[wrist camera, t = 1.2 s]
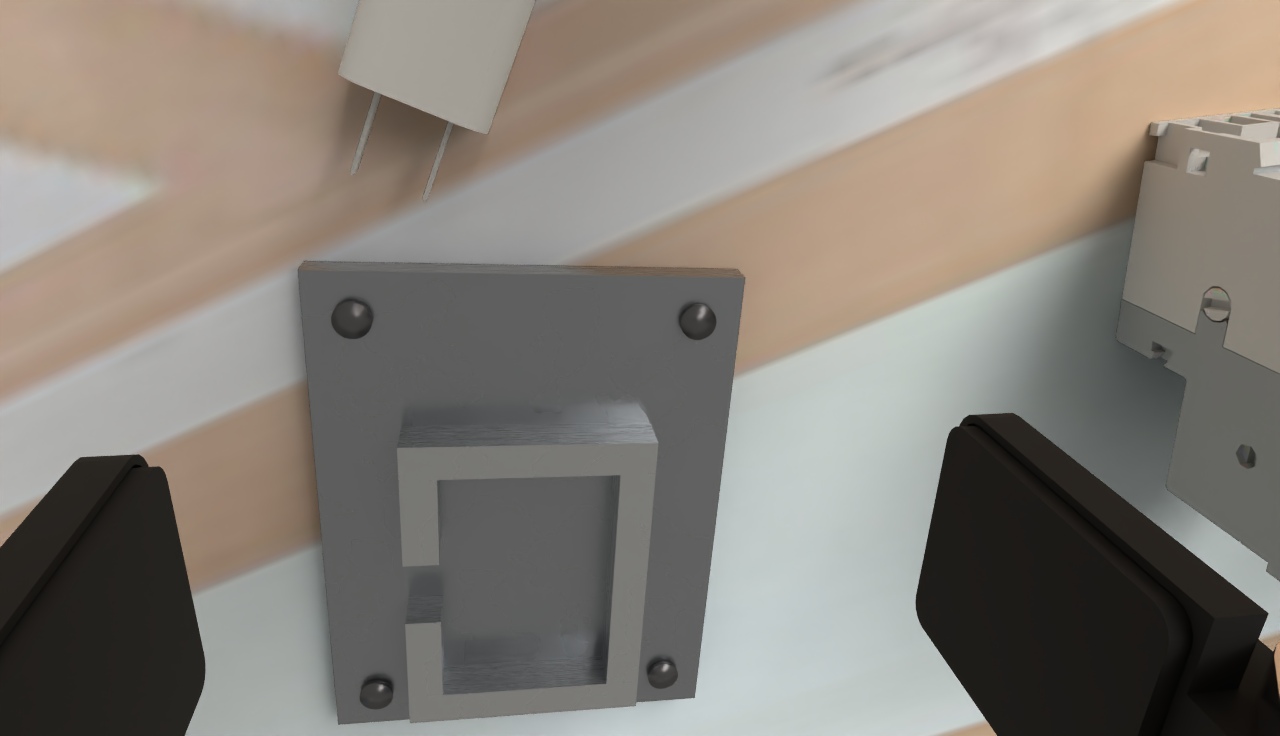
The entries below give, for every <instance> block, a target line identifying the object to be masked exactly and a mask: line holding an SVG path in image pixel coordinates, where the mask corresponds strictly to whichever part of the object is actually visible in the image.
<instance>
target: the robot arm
mask: <svg viewBox="0 0 1280 736" xmlns="http://www.w3.org/2000/svg"><path fill="white" fill-rule="evenodd" d="M916 611H917V616H918V619H919V622H920V624H921V626H922V628H923V629H924V631H925V632H926V633H927V635H928V636H929V638H930V639H931V641H932V642H933V644H934V645H935V646H936V648H937V649H938V651H939V652H940V654H941V655H942V657H943V658H944V659H945V661H946V662H947V664H948V665H949V667H950V668H951V670H952V671H953V672H954V674H955V675H956V677H957V678H958V680H959V681H960V683H961V684H962V685H963V687H964V688H965V690H966V691H967V693H968V694H969V695H970V697H971V698H972V700H973V701H974V703H975V704H976V706H977V707H978V708H979V710H980V711H981V713H982V714H983V716H984V717H985V719H986V720H987V721H988V723H989V724H990V726H991V727H992V729H993V730H994V732H995V733H996V734H997V736H1280V642H1279V643H1278V644H1277V645H1276V647H1275V650H1274V652H1273V651H1272V650H1270V649H1269V648H1268V647H1267V646H1266V645H1264V644H1263V643H1262V642H1261V641H1260V640H1258V638H1259V636H1260V633H1261V631H1262V628H1263V626H1264V623H1265V621H1266V618H1267V616H1268V614H1269V613H1267V612H1266V611H1265V610H1264V609H1262V608H1261V607H1260V606H1258V605H1257V604H1256V603H1255V602H1253V601H1252V600H1251V599H1250V598H1248V597H1247V596H1246V595H1245V594H1243V593H1242V592H1241V591H1240V590H1238V589H1237V588H1236V587H1234V586H1233V585H1232V584H1231V583H1229V582H1228V581H1227V580H1226V579H1224V578H1223V577H1222V576H1221V575H1219V574H1218V573H1217V572H1215V571H1214V570H1213V569H1212V568H1210V567H1209V566H1208V565H1207V564H1205V563H1204V562H1203V561H1202V560H1200V559H1199V558H1198V557H1196V556H1195V555H1194V554H1193V553H1191V552H1190V551H1189V550H1188V549H1186V548H1185V547H1184V546H1183V545H1181V544H1180V543H1179V542H1177V541H1176V540H1175V539H1174V538H1172V537H1171V536H1170V535H1169V534H1167V533H1166V532H1165V531H1164V530H1162V529H1161V528H1160V527H1159V526H1157V525H1156V524H1155V523H1153V522H1152V521H1151V520H1150V519H1148V518H1147V517H1146V516H1145V515H1143V514H1142V513H1141V512H1140V511H1138V510H1137V509H1136V508H1134V507H1133V506H1132V505H1131V504H1129V503H1128V502H1127V501H1126V500H1124V499H1123V498H1122V497H1121V496H1119V495H1118V494H1117V493H1115V492H1114V491H1113V490H1112V489H1110V488H1109V487H1108V486H1107V485H1105V484H1104V483H1103V482H1102V481H1100V480H1099V479H1098V478H1096V477H1095V476H1094V475H1093V474H1091V473H1090V472H1089V471H1088V470H1086V469H1085V468H1084V467H1083V466H1081V465H1080V464H1079V463H1078V462H1076V461H1075V460H1074V459H1072V458H1071V457H1070V456H1069V455H1067V454H1066V453H1065V452H1064V451H1062V450H1061V449H1060V448H1059V447H1057V446H1056V445H1055V444H1053V443H1052V442H1051V441H1050V440H1048V439H1047V438H1046V437H1045V436H1043V435H1042V434H1041V433H1040V432H1038V431H1037V430H1036V429H1034V428H1033V427H1032V426H1031V425H1029V424H1028V423H1027V422H1026V421H1024V420H1023V419H1022V418H1021V417H1019V416H1017V415H1015V414H1014V413H1003V414H982V415H969V416H967V417H965V418H964V419H963V421H962V422H961V424H960V426H959V427H955V428H953V429H952V430H951V432H950V433H949V436H948V439H947V443H946V448H945V453H944V458H943V463H942V468H941V473H940V478H939V483H938V488H937V494H936V499H935V504H934V509H933V514H932V519H931V524H930V529H929V534H928V539H927V544H926V549H925V554H924V559H923V564H922V569H921V574H920V579H919V584H918V589H917V594H916ZM204 680H205V657H204V652H203V647H202V642H201V638H200V633H199V628H198V623H197V619H196V614H195V609H194V604H193V600H192V595H191V590H190V585H189V581H188V576H187V571H186V567H185V562H184V557H183V552H182V548H181V543H180V538H179V533H178V529H177V524H176V519H175V514H174V510H173V505H172V500H171V495H170V491H169V486H168V481H167V478H166V474H165V472H164V471H163V469H162V468H161V467H148V464H147V462H146V461H145V459H144V458H143V457H142V456H140V455H119V456H97V457H80V458H79V459H78V460H76V461H75V462H74V463H73V464H72V465H71V467H70V468H69V469H68V470H67V471H66V472H65V474H64V475H63V476H62V477H61V478H60V479H59V480H58V482H57V483H56V484H55V485H54V486H53V487H52V489H51V490H50V491H49V492H48V493H47V494H46V495H45V497H44V498H43V499H42V500H41V501H40V502H39V504H38V505H37V506H36V507H35V508H34V509H33V511H32V512H31V513H30V514H29V515H28V516H27V517H26V519H25V520H24V521H23V522H22V523H21V524H20V526H19V527H18V528H17V529H16V530H15V531H14V532H13V534H12V535H11V536H10V537H9V538H8V539H7V541H6V542H5V543H4V544H3V545H2V546H1V547H0V736H185V733H186V731H187V728H188V726H189V723H190V721H191V718H192V716H193V713H194V711H195V708H196V706H197V703H198V701H199V698H200V696H201V693H202V690H203V686H204Z"/></svg>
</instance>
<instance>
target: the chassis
mask: <svg viewBox="0 0 1280 736" xmlns="http://www.w3.org/2000/svg"><path fill="white" fill-rule="evenodd" d="M298 279H299V290H300V301H301V312H302V324H303V335H304V346H305V357H306V368H307V380H308V391H309V402H310V413H311V424H312V436H313V447H314V458H315V469H316V480H317V492H318V503H319V514H320V525H321V536H322V548H323V559H324V570H325V581H326V593H327V604H328V615H329V626H330V637H331V649H332V660H333V671H334V682H335V693H336V705H337V716H338V725H339V724H352V723H365V722H379V721H392V720H405V719H410V723H417V722H430V721H444V720H457V719H470V718H483V717H496V716H510V715H523V714H536V713H549V712H562V711H576V710H589V709H602V708H615V707H628V706H636V702H645V701H659V700H672V699H685V698H695V691H696V682H697V674H698V666H699V657H700V649H701V641H702V633H703V624H704V616H705V608H706V599H707V591H708V583H709V574H710V566H711V558H712V550H713V541H714V533H715V525H716V516H717V508H718V500H719V491H720V483H721V475H722V466H723V458H724V450H725V442H726V433H727V425H728V417H729V408H730V400H731V392H732V383H733V375H734V367H735V359H736V350H737V342H738V334H739V325H740V317H741V309H742V300H743V292H744V284H745V277H744V276H743V275H742V274H741V273H740V272H739V270H738V269H714V268H659V267H604V266H549V265H494V264H439V263H384V262H329V261H304V262H303V263H302V265H301V266H300V268H299V269H298Z"/></svg>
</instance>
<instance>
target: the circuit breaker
mask: <svg viewBox="0 0 1280 736" xmlns="http://www.w3.org/2000/svg"><path fill="white" fill-rule="evenodd" d="M1149 135H1153V136H1159V137H1158V143H1157V149H1156V155H1155V160H1149V161H1145V162H1144V169H1143V175H1142V181H1141V187H1140V193H1139V199H1138V205H1137V211H1136V217H1135V223H1134V229H1133V235H1132V241H1131V247H1130V253H1129V259H1128V265H1127V271H1126V277H1125V283H1124V289H1123V295H1122V302H1121V308H1120V314H1119V320H1118V326H1117V333H1116V339H1117V341H1118V342H1120V343H1122V344H1124V345H1126V346H1128V347H1129V348H1131V349H1133V350H1135V351H1137V352H1139V353H1140V354H1142V355H1144V356H1146V357H1148V358H1150V359H1153V358H1160V357H1161V358H1163V359H1165V360H1166V361H1167V363H1166V364H1165V365H1164V367H1166V368H1168V369H1170V370H1172V371H1173V372H1175V373H1177V374H1179V375H1181V376H1183V377H1184V378H1185V379H1186V381H1187V382H1186V387H1185V392H1184V397H1183V402H1182V407H1181V412H1180V417H1179V422H1178V427H1177V432H1176V437H1175V442H1174V447H1173V452H1172V457H1171V462H1170V467H1169V471H1168V476H1167V481H1166V488H1167V490H1169V491H1170V492H1171V493H1173V494H1174V495H1175V496H1177V497H1178V498H1180V499H1181V500H1182V501H1184V502H1185V503H1186V504H1188V505H1189V506H1191V507H1192V508H1193V509H1195V510H1196V511H1198V512H1199V513H1200V514H1202V515H1203V516H1204V517H1206V518H1207V519H1209V520H1210V521H1211V522H1213V523H1214V524H1216V525H1217V526H1218V527H1220V528H1221V529H1222V530H1224V531H1225V532H1227V533H1228V534H1229V535H1231V536H1232V537H1233V538H1235V539H1236V540H1238V541H1241V543H1242V544H1243V545H1245V546H1246V547H1247V548H1249V549H1250V550H1251V551H1253V552H1254V553H1256V554H1257V555H1258V556H1260V557H1261V558H1263V559H1264V560H1265V561H1267V562H1268V565H1267V569H1266V571H1267V572H1268V573H1269V574H1271V575H1272V576H1273V577H1275V578H1276V579H1277V580H1279V581H1280V108H1276V109H1266V110H1257V111H1248V112H1239V113H1230V114H1221V115H1212V116H1203V117H1194V118H1185V119H1176V120H1167V121H1158V122H1151V126H1150V132H1149Z"/></svg>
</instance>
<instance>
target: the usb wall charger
mask: <svg viewBox="0 0 1280 736" xmlns="http://www.w3.org/2000/svg"><path fill="white" fill-rule="evenodd" d="M535 1H536V0H359V3H358V6H357V10H356V13H355V17H354V20H353V23H352V27H351V30H350V33H349V37H348V40H347V44H346V47H345V50H344V54H343V57H342V61H341V64H340V67H339V71H338V74H339V75H340V76H342V77H343V78H345V79H347V80H349V81H351V82H353V83H355V84H358V85H360V86H362V87H365V88H367V89H370V90H372V91H375V92H374V96H373V99H372V102H371V105H370V108H369V112H368V115H367V118H366V121H365V125H364V128H363V131H362V134H361V137H360V141H359V144H358V147H357V150H356V154H355V157H354V160H353V164H352V167H351V170H350V173H351V174H352V175H354V174H355V173H356V171H357V170H358V168H359V165H360V162H361V159H362V156H363V152H364V149H365V146H366V143H367V140H368V137H369V133H370V130H371V127H372V124H373V121H374V118H375V114H376V111H377V108H378V105H379V102H380V98H381V95H385V96H387V97H390V98H392V99H395V100H397V101H400V102H402V103H405V104H407V105H409V106H412V107H414V108H417V109H419V110H422V111H424V112H427V113H429V114H432V115H434V116H437V117H439V118H442V119H444V120H447V121H448V124H447V127H446V130H445V132H444V135H443V138H442V141H441V144H440V147H439V150H438V153H437V156H436V159H435V162H434V165H433V168H432V171H431V174H430V176H429V179H428V182H427V185H426V188H425V191H424V194H423V198H422V199H423V201H424V202H425V201H427V199H428V197H429V194H430V191H431V188H432V185H433V182H434V179H435V176H436V173H437V170H438V168H439V165H440V162H441V159H442V156H443V153H444V150H445V147H446V144H447V141H448V138H449V135H450V133H451V130H452V127H453V124H457V125H459V126H462V127H464V128H467V129H470V130H473V131H476V132H479V133H484V134H488V132H489V130H490V127H491V124H492V121H493V118H494V116H495V113H496V110H497V107H498V104H499V102H500V99H501V96H502V93H503V90H504V88H505V85H506V82H507V79H508V76H509V74H510V71H511V68H512V65H513V62H514V60H515V57H516V54H517V51H518V48H519V46H520V43H521V40H522V37H523V34H524V32H525V29H526V26H527V23H528V20H529V18H530V15H531V12H532V9H533V6H534V4H535Z"/></svg>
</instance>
